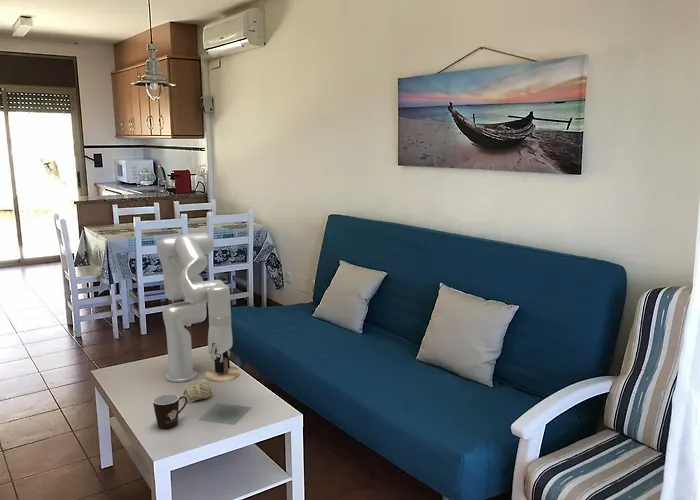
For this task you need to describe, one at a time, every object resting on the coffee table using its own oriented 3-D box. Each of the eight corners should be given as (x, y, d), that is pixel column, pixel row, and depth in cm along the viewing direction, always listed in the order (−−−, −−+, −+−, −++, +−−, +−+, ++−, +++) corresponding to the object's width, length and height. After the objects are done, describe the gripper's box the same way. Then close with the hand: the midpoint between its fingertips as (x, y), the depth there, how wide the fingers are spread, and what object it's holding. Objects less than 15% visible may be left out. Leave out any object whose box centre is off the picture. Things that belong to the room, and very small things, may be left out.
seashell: (176, 402, 219) (181, 375, 222) (190, 404, 228) (195, 378, 231) (199, 404, 216) (204, 377, 219) (213, 406, 225) (217, 379, 228)
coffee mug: (156, 434, 196) (154, 406, 195) (153, 423, 204) (151, 396, 202) (191, 427, 201) (189, 400, 199) (187, 417, 209) (186, 390, 207)
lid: (215, 367, 215) (214, 351, 214) (245, 370, 212) (245, 354, 211) (199, 380, 203) (198, 363, 202) (231, 383, 200) (230, 366, 199)
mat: (217, 404, 219) (217, 403, 219) (252, 408, 215) (252, 407, 215) (198, 421, 205) (198, 419, 205) (234, 426, 202) (234, 424, 202)
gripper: (221, 312, 213) (224, 361, 216) (198, 326, 197) (201, 378, 200) (240, 314, 211) (242, 362, 214) (218, 328, 195) (221, 380, 198)
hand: (222, 369), depth 207 cm, fingers closed on lid, 3 cm apart
